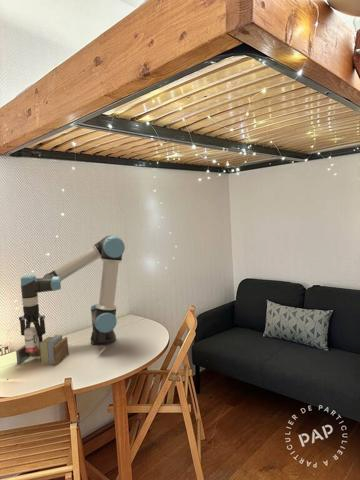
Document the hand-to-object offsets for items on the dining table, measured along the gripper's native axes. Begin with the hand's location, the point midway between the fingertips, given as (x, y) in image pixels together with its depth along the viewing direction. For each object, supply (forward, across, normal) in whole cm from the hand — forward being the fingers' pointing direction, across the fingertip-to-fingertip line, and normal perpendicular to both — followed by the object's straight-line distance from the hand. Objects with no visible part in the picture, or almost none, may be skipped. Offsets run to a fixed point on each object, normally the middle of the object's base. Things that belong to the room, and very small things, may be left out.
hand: (34, 347), depth 176 cm
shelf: (+8, -4, 0) cm, 9 cm away
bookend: (+7, +7, 0) cm, 10 cm away
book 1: (+7, -8, 0) cm, 10 cm away
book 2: (+7, -12, 0) cm, 14 cm away
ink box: (+1, 0, 0) cm, 1 cm away
